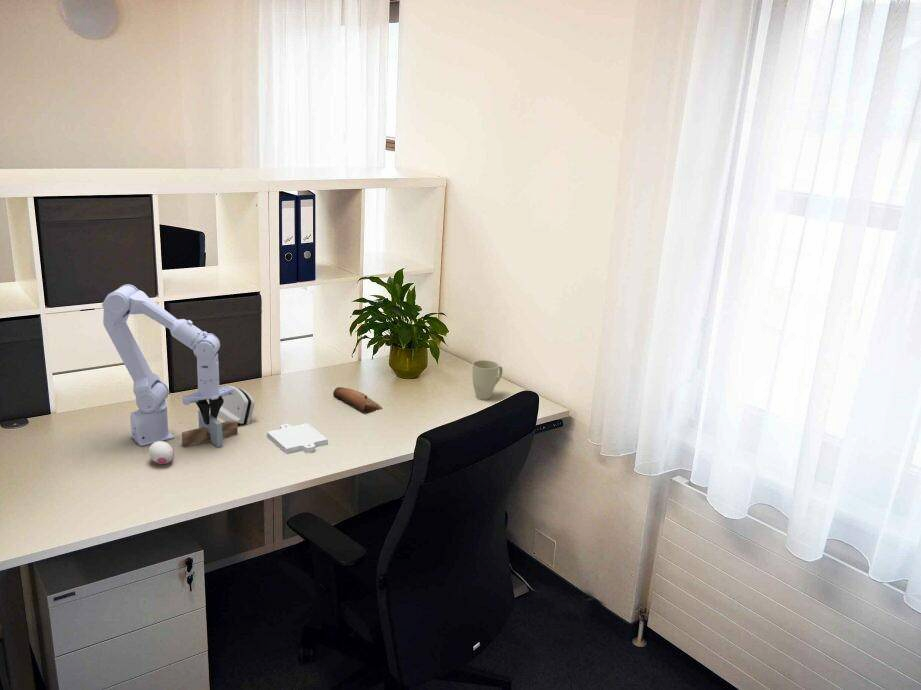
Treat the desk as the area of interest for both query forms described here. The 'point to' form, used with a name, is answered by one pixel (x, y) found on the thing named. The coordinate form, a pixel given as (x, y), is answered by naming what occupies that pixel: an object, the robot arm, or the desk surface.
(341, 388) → the sunglasses case
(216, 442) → the upright grey panel
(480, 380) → the mug
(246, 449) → the desk surface
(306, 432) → the mounting plate
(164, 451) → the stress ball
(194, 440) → the walnut plate
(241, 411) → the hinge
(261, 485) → the desk surface
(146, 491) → the desk surface
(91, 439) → the desk surface
